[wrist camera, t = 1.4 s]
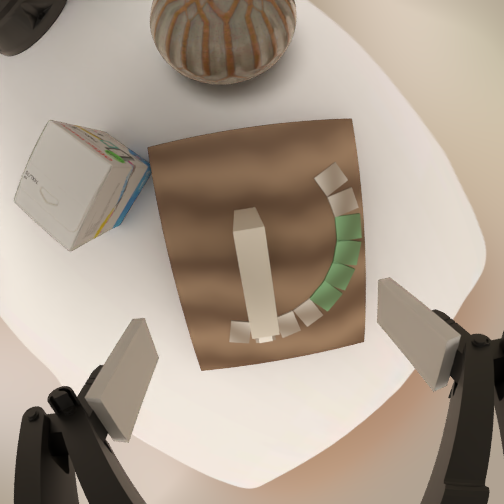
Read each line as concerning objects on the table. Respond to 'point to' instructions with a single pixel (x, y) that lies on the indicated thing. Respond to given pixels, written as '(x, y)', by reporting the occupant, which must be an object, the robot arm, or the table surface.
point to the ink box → (79, 183)
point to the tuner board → (277, 235)
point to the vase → (222, 36)
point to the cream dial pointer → (255, 273)
